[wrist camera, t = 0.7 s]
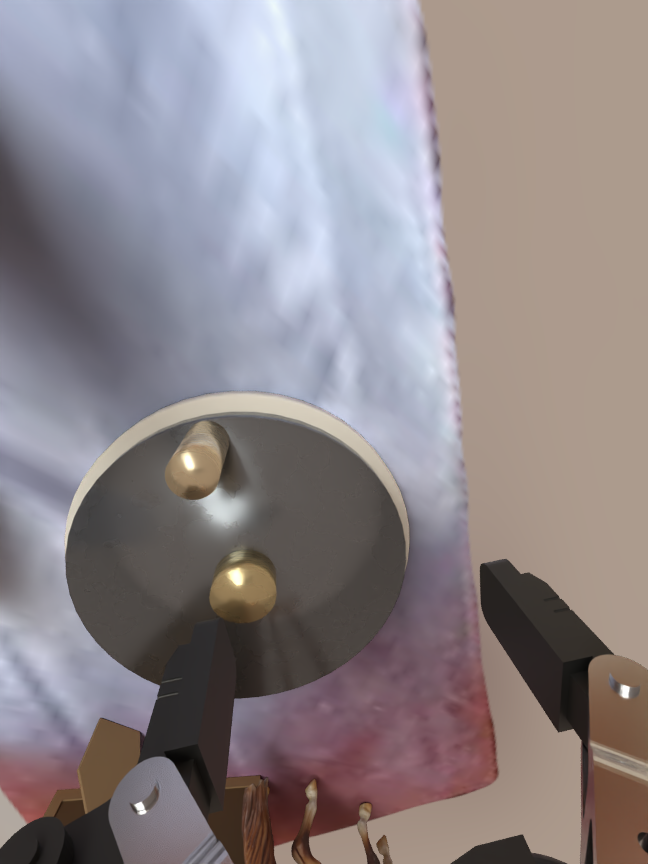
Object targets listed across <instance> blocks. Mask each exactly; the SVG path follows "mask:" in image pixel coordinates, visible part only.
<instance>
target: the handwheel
mask: <svg viewBox="0 0 648 864" xmlns="http://www.w3.org/2000/svg"><path fill="white" fill-rule="evenodd" d="M65 559H66V578H67V583H68V588H69V592H70V596H71V599H72V601H73V604H74V606H75V609H76V612H77V614H78V615H79V617H80V619H81V621H82V622H83V624H84V626H85V628H86V629H87V630H88V632H89V633H90V634H91V636H92V637H93V638H94V639H95V641H96V642H97V643H98V644H99V645H100V646H101V647H102V648H103V649H104V650H105V651H106V652H107V653H108V654H109V655H110V656H111V657H112V658H113V659H115V660H116V661H117V662H119V663H120V664H121V665H123V666H124V667H125V668H127V669H128V670H130V671H132V672H134V673H135V674H137V675H139V676H141V677H142V678H144V679H146V680H149V681H151V682H153V683H155V684H158V685H161V684H162V678H163V675H164V671H165V668H166V665H167V662H168V661H169V659H170V658H171V656H172V655H173V653H174V652H175V650H176V649H177V648H178V646H179V645H184V644H189V643H190V642H191V638H192V634H193V630H194V626H195V624H196V623H197V622H201V621H206V620H211V619H215V618H220V617H222V618H223V620H224V622H225V626H226V629H227V632H228V636H229V639H230V642H231V646H232V649H233V652H234V656H235V661H236V686H235V696H234V698H250V697H260V696H266V695H271V694H277V693H281V692H284V691H288V690H291V689H295V688H298V687H300V686H303V685H305V684H308V683H311V682H313V681H315V680H317V679H319V678H321V677H323V676H325V675H327V674H329V673H331V672H332V671H334V670H336V669H337V668H339V667H340V666H342V665H343V664H345V663H346V662H348V661H349V660H350V659H351V658H353V657H354V656H355V655H356V654H358V653H359V652H360V651H361V650H362V649H363V648H364V647H365V646H366V645H367V644H368V643H369V642H370V641H371V640H372V639H373V638H374V636H375V635H376V634H377V633H378V631H379V630H380V629H381V627H382V626H383V625H384V623H385V622H386V620H387V618H388V617H389V615H390V613H391V612H392V610H393V608H394V605H395V603H396V601H397V598H398V596H399V593H400V590H401V586H402V582H403V579H404V573H405V565H406V542H405V536H404V531H403V525H402V522H401V519H400V517H399V514H398V511H397V508H396V506H395V504H394V502H393V500H392V498H391V496H390V495H389V493H388V491H387V489H386V487H385V486H384V484H383V482H382V481H381V479H380V478H379V477H378V475H377V474H376V473H375V471H374V470H373V469H372V467H371V466H370V465H369V464H368V463H367V462H366V461H365V460H364V459H363V458H362V457H361V456H360V455H359V454H358V453H357V452H356V451H355V450H353V449H352V448H351V447H349V446H348V445H347V444H345V443H344V442H343V441H341V440H340V439H338V438H336V437H335V436H333V435H331V434H329V433H328V432H326V431H324V430H322V429H320V428H318V427H315V426H313V425H310V424H308V423H305V422H303V421H300V420H296V419H292V418H288V417H284V416H281V415H276V414H268V413H260V412H223V413H215V414H207V415H202V416H198V417H194V418H190V419H186V420H182V421H180V422H177V423H175V424H172V425H170V426H167V427H165V428H162V429H160V430H158V431H156V432H154V433H153V434H151V435H149V436H147V437H145V438H144V439H142V440H140V441H139V442H137V443H136V444H135V445H133V446H132V447H131V448H129V449H128V450H127V451H125V452H124V453H123V454H121V455H120V456H119V457H118V458H117V459H116V460H115V461H114V462H113V463H112V464H111V465H110V466H109V467H108V468H107V469H106V470H105V472H104V473H103V474H102V475H101V476H100V477H99V478H98V479H97V480H96V482H95V483H94V484H93V486H92V487H91V488H90V490H89V491H88V493H87V494H86V495H85V497H84V498H83V500H82V502H81V504H80V506H79V508H78V510H77V512H76V514H75V516H74V519H73V522H72V525H71V528H70V532H69V535H68V541H67V548H66V555H65Z"/></svg>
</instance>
